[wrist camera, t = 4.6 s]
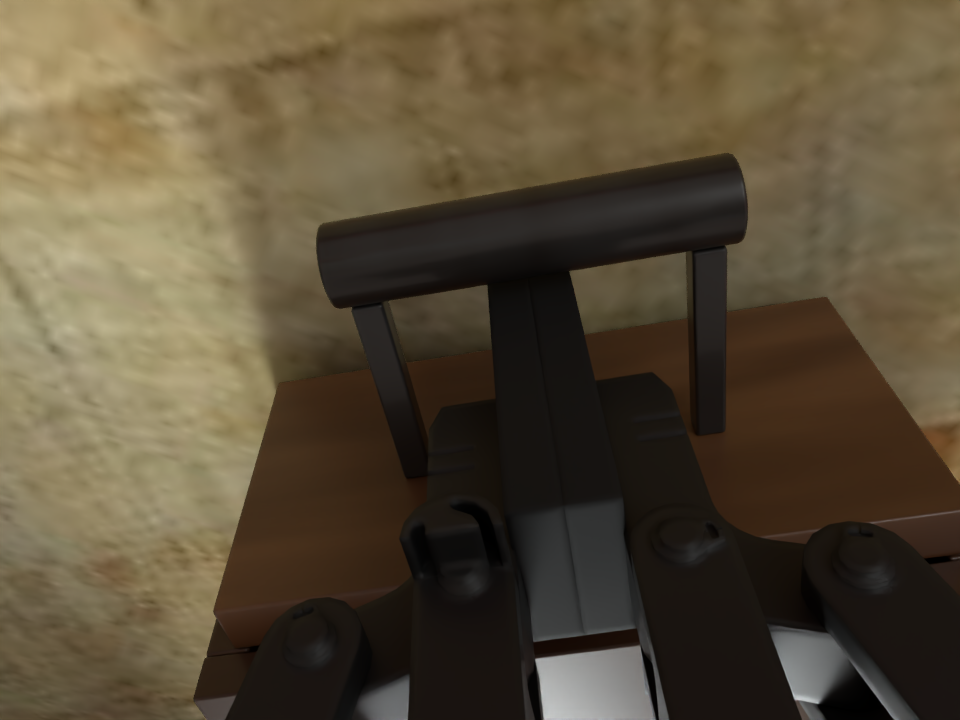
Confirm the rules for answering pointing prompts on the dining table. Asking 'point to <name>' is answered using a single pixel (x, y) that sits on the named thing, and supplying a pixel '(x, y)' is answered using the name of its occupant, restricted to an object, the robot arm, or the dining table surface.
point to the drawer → (648, 348)
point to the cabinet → (560, 663)
